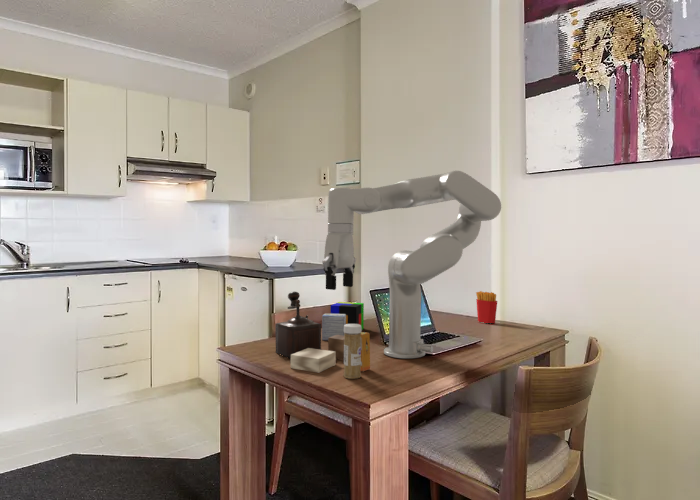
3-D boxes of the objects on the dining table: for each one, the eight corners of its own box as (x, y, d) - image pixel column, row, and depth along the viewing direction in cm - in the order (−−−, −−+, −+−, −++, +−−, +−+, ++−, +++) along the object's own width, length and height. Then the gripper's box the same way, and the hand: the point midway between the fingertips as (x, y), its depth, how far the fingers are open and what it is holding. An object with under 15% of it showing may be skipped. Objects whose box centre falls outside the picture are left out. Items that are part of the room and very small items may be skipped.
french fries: (498, 323, 201) (499, 292, 200) (492, 325, 198) (493, 293, 198) (479, 320, 208) (479, 290, 207) (473, 321, 205) (473, 291, 204)
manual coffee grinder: (323, 354, 149) (324, 295, 148) (293, 360, 142) (293, 298, 141) (295, 344, 161) (295, 290, 160) (266, 349, 153) (266, 292, 153)
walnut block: (351, 356, 146) (351, 336, 146) (342, 360, 142) (342, 339, 142) (336, 354, 149) (337, 334, 149) (328, 357, 144) (328, 337, 144)
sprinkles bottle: (359, 379, 123) (360, 326, 122) (341, 378, 124) (342, 326, 123) (362, 374, 127) (362, 323, 127) (344, 373, 128) (345, 322, 128)
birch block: (335, 365, 137) (335, 351, 137) (318, 373, 129) (319, 358, 129) (308, 361, 141) (308, 347, 141) (290, 369, 133) (290, 354, 133)
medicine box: (346, 338, 171) (346, 313, 171) (344, 341, 167) (344, 315, 166) (323, 337, 172) (323, 313, 171) (321, 340, 167) (321, 315, 167)
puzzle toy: (330, 332, 182) (330, 305, 181) (338, 327, 191) (339, 301, 191) (356, 334, 179) (356, 306, 178) (363, 328, 188) (363, 303, 188)
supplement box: (360, 367, 134) (360, 331, 134) (370, 369, 132) (370, 332, 132) (352, 369, 132) (353, 332, 131) (362, 372, 130) (363, 334, 129)
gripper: (344, 230, 153) (343, 284, 154) (313, 229, 138) (312, 289, 139) (365, 230, 150) (364, 286, 150) (336, 229, 135) (335, 291, 135)
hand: (339, 287), depth 145 cm, fingers open, 9 cm apart
